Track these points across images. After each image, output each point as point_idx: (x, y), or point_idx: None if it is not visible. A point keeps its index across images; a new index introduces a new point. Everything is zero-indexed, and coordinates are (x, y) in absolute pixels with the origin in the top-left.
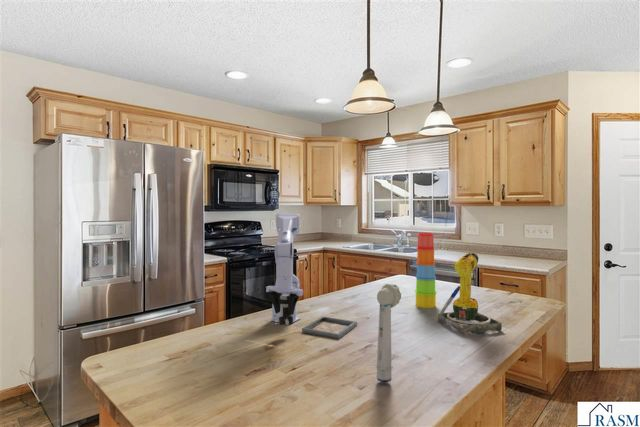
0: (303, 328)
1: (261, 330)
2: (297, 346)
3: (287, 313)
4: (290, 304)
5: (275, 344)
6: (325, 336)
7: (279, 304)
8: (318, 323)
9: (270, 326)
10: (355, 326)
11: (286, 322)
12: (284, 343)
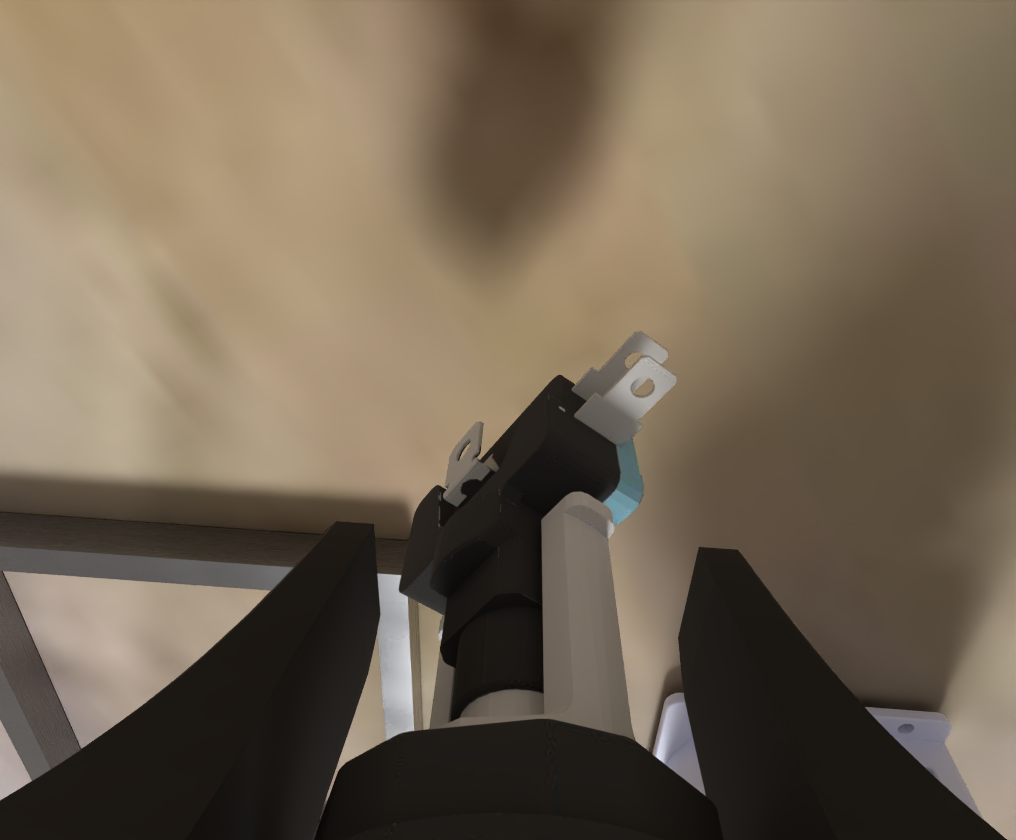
0: (388, 578)
1: (960, 434)
2: (148, 91)
3: (457, 594)
4: (161, 715)
5: (488, 8)
6: (106, 521)
7: (720, 791)
8: None
9: (887, 583)
10: None
11: (470, 449)
12: (387, 116)
